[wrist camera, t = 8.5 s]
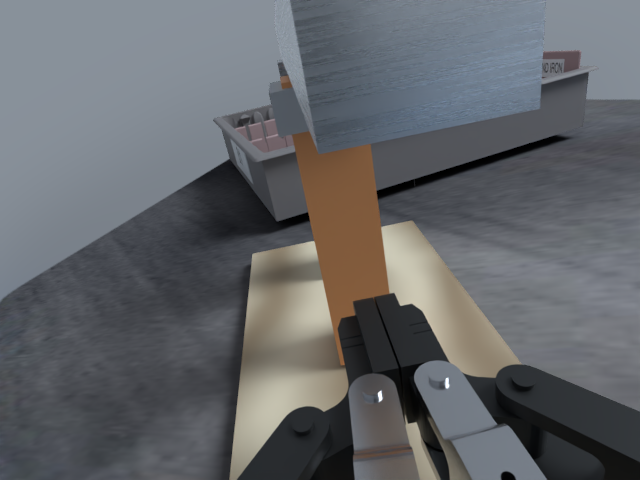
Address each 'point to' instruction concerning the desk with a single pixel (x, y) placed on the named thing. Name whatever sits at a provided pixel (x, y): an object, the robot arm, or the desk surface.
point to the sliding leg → (337, 211)
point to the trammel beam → (408, 64)
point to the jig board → (319, 341)
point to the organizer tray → (407, 139)
